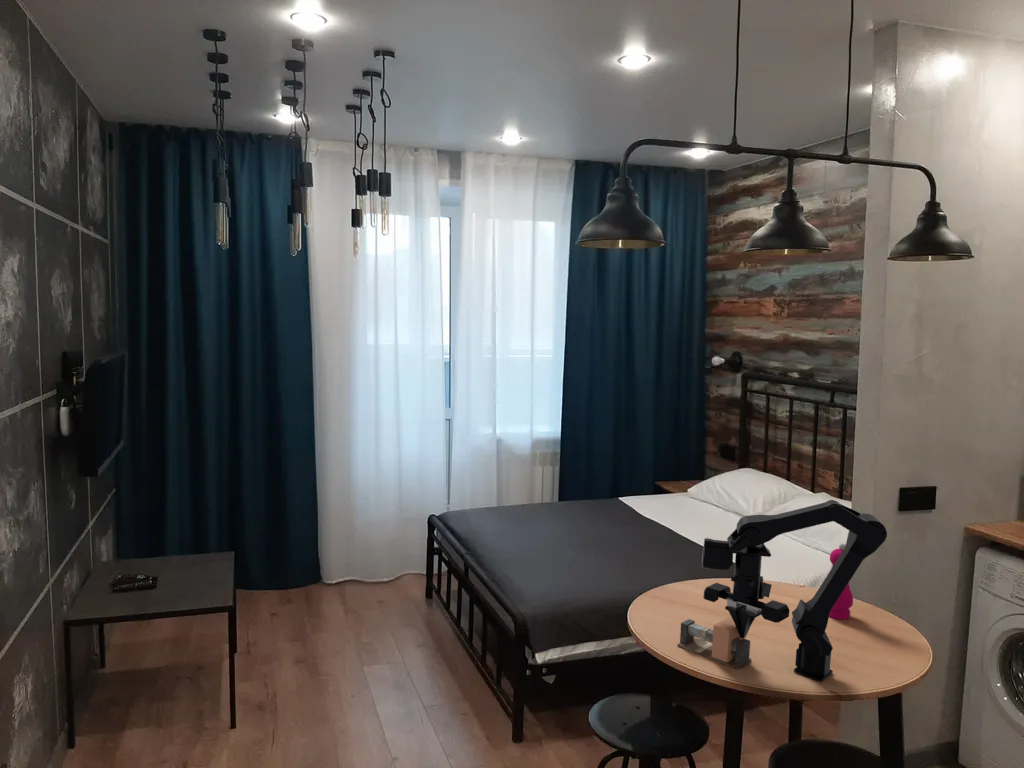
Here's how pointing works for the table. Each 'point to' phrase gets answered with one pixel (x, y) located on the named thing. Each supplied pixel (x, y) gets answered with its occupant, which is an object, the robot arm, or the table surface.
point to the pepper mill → (846, 598)
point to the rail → (705, 649)
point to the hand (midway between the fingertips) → (742, 637)
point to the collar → (724, 639)
